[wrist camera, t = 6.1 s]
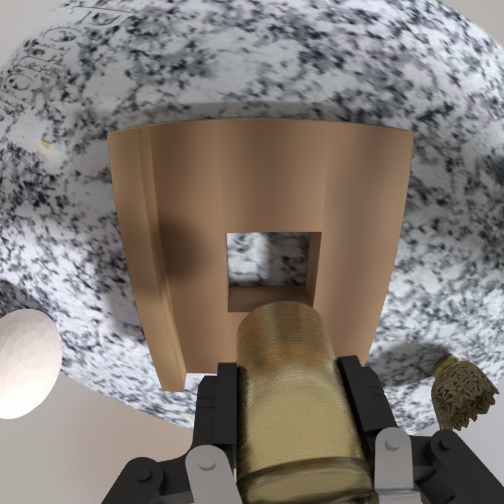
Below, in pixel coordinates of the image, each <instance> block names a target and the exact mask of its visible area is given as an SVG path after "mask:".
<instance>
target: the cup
mask: <svg viewBox="0 0 504 504" xmlns="http://www.w3.org/2000/svg"><path fill="white" fill-rule="evenodd" d="M433 378H434V379H435V381H434V383H433V386H432V390H431V398H432V403H433V407H434V410H435V414H436V417H437V420H438V423H439V426H440V430H442V429H448V430H451V431H453V427H454V429H457V430H458V431H460V430H461V427H462V426H463V427H465V428H466V427H467V426H468V424H469V418H471V419H472V420H473V421H474V422H475V421H476V420H477V415H478V414H486V413H487V412H488V410H489V407H490V405H494V404H495V400H494V398H493V395H494V394H495V393H496V394H499V392H498V389H496V387H495V386H494V385H493V384H492V382H491V381H490V380H489V379H488V378H487V376H486V375H485V374H484V373H483V372H482V371H481V370H480V369H479V368H478V367H477V366H476V365H475V364H473V363H471V362H468V361H459V359H458V358H457V357H455V356H453V355H450V356H447V357H445V358H443V359H441V360H440V361H439V362H438V363H437V364H436V365H435V367H434V369H433Z"/></svg>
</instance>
